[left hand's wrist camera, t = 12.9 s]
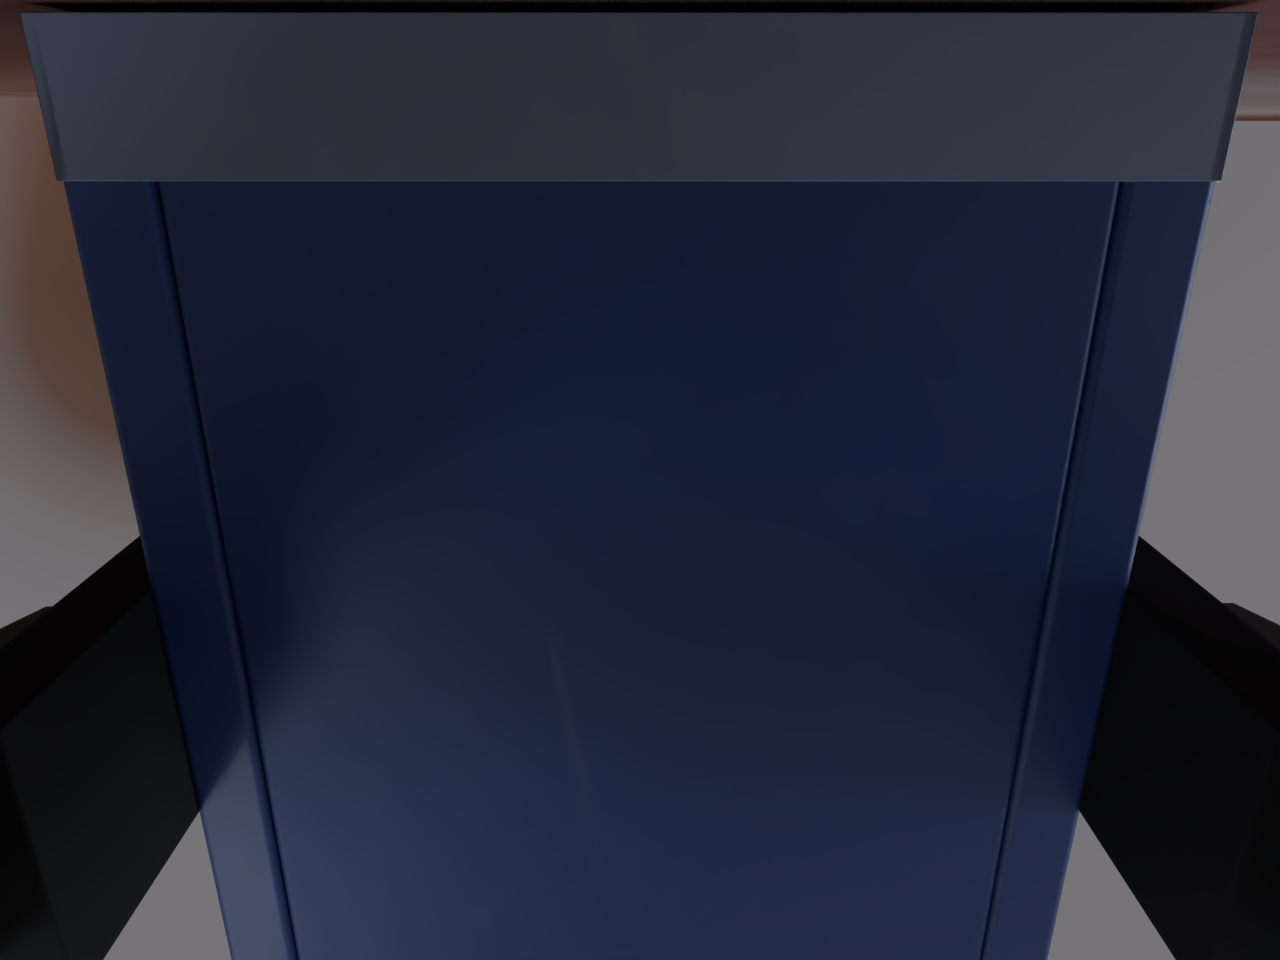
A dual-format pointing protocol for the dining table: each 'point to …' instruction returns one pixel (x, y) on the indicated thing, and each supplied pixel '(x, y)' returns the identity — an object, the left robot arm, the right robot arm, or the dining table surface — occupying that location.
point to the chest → (639, 453)
